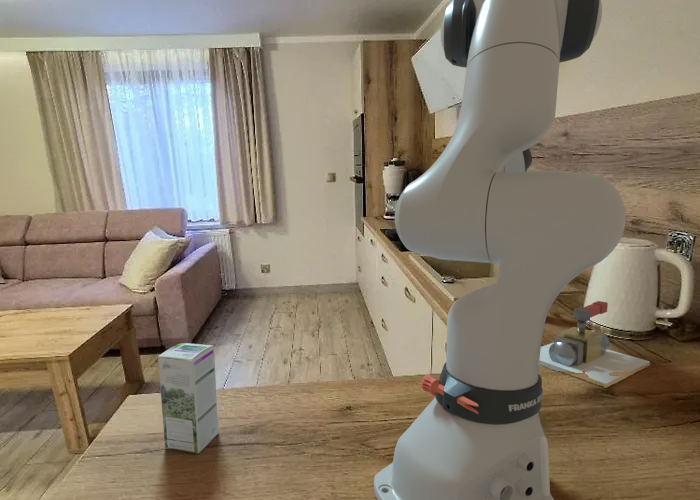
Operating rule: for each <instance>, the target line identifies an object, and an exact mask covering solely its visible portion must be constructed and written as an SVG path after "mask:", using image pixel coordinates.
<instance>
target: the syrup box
mask: <svg viewBox="0 0 700 500" xmlns="http://www.w3.org/2000/svg"><path fill="white" fill-rule="evenodd" d="M215 361H216V359H215V347H214V345H213V344H212V345H211V344H200V343H187V342H181V343H178V344H176V345H174V346H171V347H170V348H168V349H167V350H165V351H164V352H162V353H161V354H159V355H157V363H158V372H159V373H158V374H159V375H158V376H159V387H160V388H159V389H160V399H161V410H162V411H161V412H162V424H163V439H164V448H165V450H170V451H171V450H172V451H178V452H183V453H184V452H186V453H190V454H197V455H198V454H199V453H201V452H202V451H203V450H204V449H205V448H206V447H207V446H208V445H209V444H210V443H211V442H212V441H213V440H214V438H216V437H217V435H218V434H219V433H220V432H219V431H220V429H219V419H218V418H219V416H218V401H217V385H216V384H217V382H216V381H217V380H216V362H215Z"/></svg>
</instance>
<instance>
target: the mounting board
mask: <svg viewBox="0 0 700 500" xmlns="http://www.w3.org/2000/svg"><path fill="white" fill-rule="evenodd" d="M552 344H554V342H550V343H548V344H545V345H541V349H540V359H539V366H543V367H545V368H547V369H550V370H554V371H556V372H558V371H570V372H575V373H583V372H582V371H586V372H585V374H587V375H588V376H589V377H588V378H591V379H593V380H595V381H598V382H600V383H603V384H605V385H607V384H609V383H610V382H612V381H614V380H616V379H617V378H619V377H621V376H623V375H621V376H610V375H609V373H612V372H624V371H628V372H627V373H629V372H631V371H633V370H635V369H638V368H640V367H643V366H647V365H650V366H651V361H650V360H646V359H642V358H640V357H635V356H632V355H629V354H625V353H622V352H621V353H620V352H618V351H614V350H611V349H609V348H608V349H607V350H606V351H605V354H604V355H602V356H600V358H598V359H596V360H593V361H591V362H589V363H583V362H582V364H581V365H578V366H576V365H570V366H565V365H562V364H559V363H556V362H553V361H552V360H551V358H550V356H549V348H550V346H551V345H552Z"/></svg>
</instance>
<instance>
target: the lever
mask: <svg viewBox="0 0 700 500" xmlns="http://www.w3.org/2000/svg"><path fill="white" fill-rule="evenodd" d="M608 305H609V304H608V302H607V301H601V300H600V301H599V300H598V301H597V300H596V301H595V302H592V303H591V304H588V305H586V306H583V307H575V308H573V316H572V317H573V318H572V319H574V320H576V321H577V320H580V321H586V322H588V321H591V318H592V317H595V316H598V315H603V314H605V313H607V312H608Z"/></svg>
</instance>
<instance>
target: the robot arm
mask: <svg viewBox="0 0 700 500" xmlns="http://www.w3.org/2000/svg"><path fill="white" fill-rule="evenodd" d="M602 16H603V4H602V0H451V1H450V2H449V4H448V5H447V6H446V8H445V13H444V15H443V18H442V20H441V21H442V22H441V26H440V43H441V47H442V50H443V53H444V56H445V59H446V61H448V62H449V64H451V65H452V66H454V67H461V68H466V69H465V77H464V78H465V79H464V84H463V85H464V86H463V92H462V98H461V104H460V109H459V114H458V119H457V123H456V126H455V129H454V131H453V134H452V136H451V137H450V140H449V142H448V144H447V145H446V146H445V148H444V150H443V151H442V153H440V155H439V157H438V158H437V159H436V161H434V163H433V164H432V165H431V166H430V167H429V168H428V169H427V170H426V171H424V173H423V174H422V175H420V176H418V177H417V178H416V179H415V180H413V181H411V182H410V183H409V184H407V186H406V187H405V188H404V189H403V191H402V192H401V193H400V196H399V198H398V200H397V202H396V206H395V210H394V226H395V230H396V233H397V235H398V237H399V239H400V241H401V243H402V244H403V245H404V247H405V248H406V249H407V250H408V251H410V252H414V253H417V254H420V255H423V256H426V257H430V258H435V259H438V260H444V261H460V262H470V263H471V262H473V263H484V264H485V263H487V264H493V265H497V266H498V276H497V279H496V281H494V283H492V284H490V285H487V286H484V287H481V288H478V289H475V290H473V291H471V292H469V293H465V294H464V295H462V296H460V297H459V298H458V299H456V301H454V302H453V304H452V305H451V307H450V308H449V310H448V313H447V316H446V317H447V318H446V320H447V321H446V358H445V360H446V361H445V362H444V364H443V365H442V370H441V373H440V375H439V378H438V379H435V378H434V376H432V375H431V374H425V375H424V376H423V377H422V378H421V380H420V384H419V385H420V389H421V390H423V391H424V392H426V393H430V395H432V396H435V397H434V398H433V399H432V400H431V402H430V403H429V404H428V405H427V406H426V407H425V408H424V409H423V410H422V412H421V413H420V414H419V415H418V416H417V418H416V419H415V420H414V421H413V422H412V423H411V424H410V425H409V427H408V428H407V429H406V430H405V431H404V432H403V434H401V436H400V437H399V438H398V439H397V441H396V444H395V445H396V446H395V448H394V453H393V460H392V462H391V463H390V464H388V465H387V466H386V467H384V468H383V469H381V470H380V471H379V472H377V473H376V474H375V476H374V477H373V492H374V495H375V497H376V499H377V500H555V499H554V497H553V496H552V494H551V488H550V487H551V485H550V464H549V463H550V461H549V460H550V459H549V457H550V456H549V443H548V440H547V436H546V434H545V432H544V428H543V426H542V423H541V419H540V416H539V412H540V411H541V408H542V400H543V395H544V391H543V390H544V389H543V379H542V376H541V375H540V372H539V371H540V370H539V369H540V365H539V359H540V349H541V347H542V341H543V335H544V334H543V333H544V328H545V323H546V319H547V317H548V314H549V311H550V310H551V307H552V305H553V304H554V301H555V300H556V298H558V296H559V295H560V293H561V292H562V291H563V289H564V288H566V286H567V285H568V284H570V283H571V281H572V280H574V279H575V278H576V277H578V276H579V275H580V274H582V273H584V272H585V271H586V270H588V269H590V268H591V267H594V266H596V265H598V264H600V263H601V262H602V261H604V260H605V259H606V258H607V257H608V256H610V254H611V253H612V252H613V251H614V250H615V249H616V247H617V246H618V244H619V243H620V241H621V239H622V236H623V234H624V231H625V228H626V220H627V219H626V215H627V214H626V207H625V203H624V200H623V198H622V196H621V195H620V193H619V191H618V190H617V187H615V185H614V184H613V183H612V182H611V181H610V180H608V179H607V178H606V177H605V176H603V175H602V176H601V175H597V174H589V173H583V172H575V171H570V170H569V171H567V170H561V169H560V170H559V169H558V170H557V169H556V170H555V169H554V170H533V171H532V170H531V171H529V170H528V169H529V168H530V167H531V166H532V163H533V156H532V152H531V149H530V148H532V147H533V146H535V145H537V144H538V143H539V142H540V141H541V140H542V139H543V138H544V137H545V136H546V135H547V134H548V132H549V131H550V129H551V128H552V126H553V125H554V122H555V119H556V111H557V110H556V109H557V97H558V86H559V85H558V84H559V75H560V74H559V73H560V63H565V62H569V61H571V60H575V59H578V58H580V57H581V56H583V54H585V53H586V52H587V51H588V50H590V47H591V45H592V43H593V41H594V39H595V38H596V36H597V33H598V32H599V29H600V25H601V22H602Z"/></svg>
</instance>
